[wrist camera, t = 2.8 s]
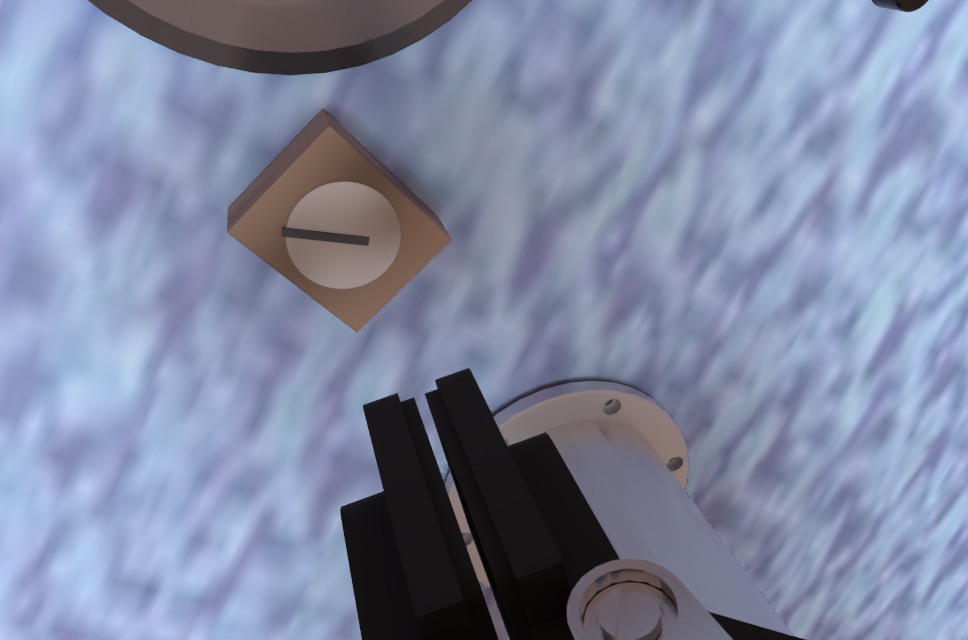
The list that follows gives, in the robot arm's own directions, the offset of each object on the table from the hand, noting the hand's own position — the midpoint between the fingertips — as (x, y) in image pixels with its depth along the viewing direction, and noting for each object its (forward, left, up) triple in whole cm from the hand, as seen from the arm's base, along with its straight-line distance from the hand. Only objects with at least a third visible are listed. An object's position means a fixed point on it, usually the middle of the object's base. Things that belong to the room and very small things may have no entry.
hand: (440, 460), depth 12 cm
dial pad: (-2, +2, -19) cm, 19 cm away
